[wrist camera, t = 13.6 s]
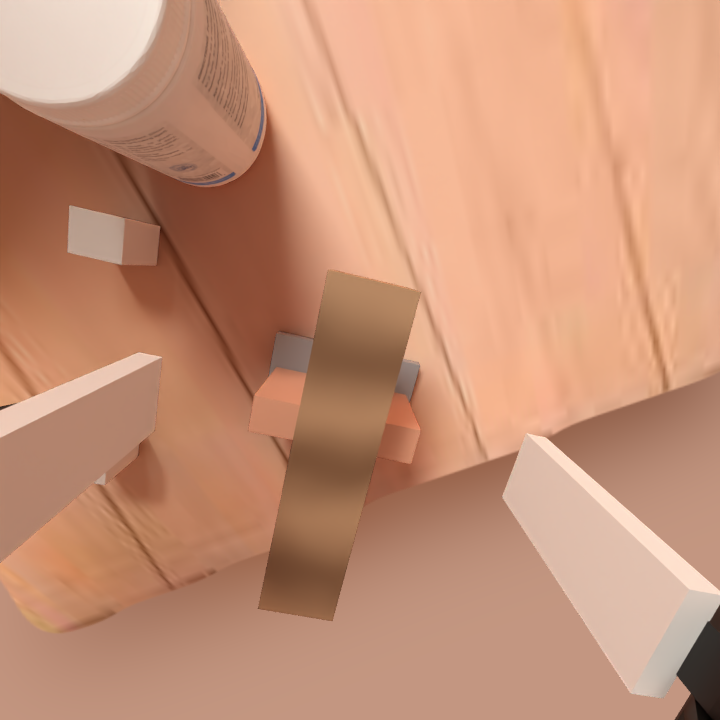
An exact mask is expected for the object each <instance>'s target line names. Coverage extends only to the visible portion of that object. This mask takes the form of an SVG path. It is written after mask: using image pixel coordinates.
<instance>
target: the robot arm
mask: <svg viewBox="0 0 720 720" xmlns="http://www.w3.org/2000/svg"><path fill="white" fill-rule="evenodd" d="M161 365H162V357H159V356H155V355H150V354H145V353H140V352H138V353H136V354H134V355H131V356H129V357H126V358H124V359H122V360H119V361H117V362H114V363H112V364H110V365H107V366H105V367H103V368H100V369H98V370H95V371H93V372H91V373H88V374H86V375H84V376H81V377H79V378H76V379H74V380H72V381H69V382H67V383H64V384H62V385H60V386H57V387H55V388H53V389H50V390H48V391H45V392H43V393H41V394H38V395H36V396H33V397H31V398H29V399H26V400H24V401H22V402H19V403H15V404H11V405H6V406H1V407H0V563H1V562H2V561H3V560H4V559H5V558H6V557H8V556H9V555H10V554H11V553H12V552H13V551H15V550H16V549H17V548H18V547H19V546H20V545H22V544H23V543H24V542H25V541H26V540H27V539H29V538H30V537H31V536H32V535H33V534H34V533H36V532H37V531H38V530H39V529H40V528H42V527H43V526H44V525H45V524H46V523H47V522H49V521H50V520H51V519H52V518H53V517H54V516H56V515H57V514H58V513H59V512H60V511H61V510H63V509H64V508H65V507H66V506H67V505H68V504H70V503H71V502H72V501H73V500H74V499H75V498H77V497H78V496H79V495H80V494H81V493H82V492H84V491H85V490H86V489H87V488H88V487H89V486H91V485H92V484H93V483H94V482H95V481H96V480H98V479H99V478H100V477H101V476H102V475H103V474H105V473H106V472H107V471H108V470H109V469H110V468H112V467H113V466H114V465H115V464H116V463H117V462H119V461H120V460H121V459H122V458H123V457H124V456H126V455H127V454H128V453H129V452H130V451H131V450H133V449H134V448H135V447H136V446H137V445H138V444H140V443H141V442H142V441H143V440H144V439H145V438H147V437H148V436H149V435H150V434H151V433H152V432H154V431H155V424H156V414H157V404H158V394H159V385H160V375H161ZM502 498H503V499H504V501H505V502H506V504H507V505H508V507H509V508H510V510H511V512H512V513H513V515H514V516H515V517H516V519H517V521H518V522H519V524H520V525H521V527H522V528H523V530H524V531H525V533H526V534H527V536H528V538H529V539H530V540H531V542H532V543H533V545H534V547H535V548H536V550H537V551H538V553H539V554H540V556H541V557H542V559H543V560H544V562H545V563H546V565H547V566H548V568H549V570H550V571H551V573H552V574H553V576H554V577H555V579H556V580H557V582H558V583H559V585H560V586H561V588H562V589H563V591H564V592H565V594H566V595H567V597H568V599H569V600H570V602H571V603H572V605H573V606H574V608H575V609H576V611H577V612H578V614H579V615H580V617H581V618H582V620H583V621H584V623H585V624H586V626H587V627H588V629H589V631H590V632H591V633H592V635H593V637H594V638H595V639H596V641H597V643H598V644H599V646H600V647H601V649H602V650H603V652H604V653H605V655H606V656H607V658H608V660H609V661H610V662H611V664H612V666H613V667H614V669H615V670H616V672H617V673H618V675H619V676H620V678H621V679H622V681H623V682H624V684H625V685H626V687H627V688H628V690H629V692H630V693H631V694H638V695H645V696H652V697H658V698H664V697H665V695H666V694H667V692H668V690H669V689H670V687H671V685H672V684H673V682H674V680H675V679H676V677H677V676H678V677H679V679H680V680H681V681H682V682H683V684H684V685H685V686H686V687H687V689H688V690H689V691H690V692H691V694H690V696H689V698H688V699H687V701H686V702H685V704H684V706H683V707H682V709H681V711H680V712H679V714H678V715H677V717H676V719H675V720H720V591H719V590H718V589H717V588H716V587H714V586H713V585H712V584H711V583H710V582H709V581H708V580H707V579H705V578H704V577H703V576H702V575H701V574H700V573H699V572H697V571H696V570H695V569H694V568H693V567H692V566H691V565H690V564H688V563H687V562H686V561H685V560H684V559H683V558H682V557H680V556H679V555H678V554H677V553H676V552H675V551H674V550H673V549H671V548H670V547H669V546H668V545H667V544H666V543H665V542H664V541H662V540H661V539H660V538H659V537H658V536H656V535H655V534H654V533H653V532H652V531H651V530H650V529H649V528H648V527H646V526H645V525H644V524H643V523H642V522H641V521H640V520H639V519H637V518H636V517H635V516H634V515H633V514H632V513H631V512H630V511H628V510H627V509H626V508H625V507H624V506H623V505H622V504H620V503H619V502H618V501H617V500H616V499H615V498H614V497H612V496H611V495H610V494H609V493H608V492H607V491H606V490H605V489H603V488H602V487H601V486H600V485H599V484H598V483H597V482H595V481H594V480H593V479H592V478H591V477H590V476H589V475H588V474H586V473H585V472H584V471H583V470H582V469H581V468H580V467H579V466H577V465H576V464H575V463H574V462H573V461H572V460H570V459H569V458H568V457H567V456H566V455H565V454H564V453H563V452H561V451H560V450H559V449H558V448H557V447H556V446H555V445H554V444H552V443H551V442H550V441H549V440H548V439H547V438H546V437H541V436H536V435H531V434H527V433H526V435H525V438H524V441H523V443H522V446H521V449H520V451H519V454H518V457H517V459H516V462H515V465H514V467H513V470H512V473H511V475H510V478H509V480H508V483H507V486H506V489H505V491H504V494H503V496H502Z"/></svg>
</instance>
